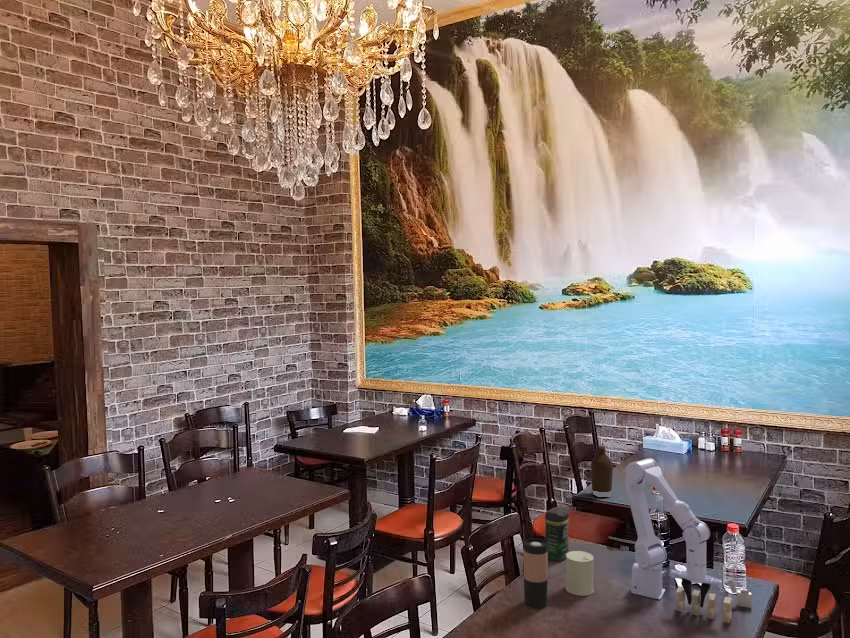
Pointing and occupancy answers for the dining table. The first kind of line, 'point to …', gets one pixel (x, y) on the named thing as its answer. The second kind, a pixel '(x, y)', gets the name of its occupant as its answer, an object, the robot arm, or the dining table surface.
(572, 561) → the can
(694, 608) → the domino
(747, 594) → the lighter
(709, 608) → the domino
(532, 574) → the travel mug
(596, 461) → the olive oil
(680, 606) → the domino
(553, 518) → the coffee jar
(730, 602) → the domino
